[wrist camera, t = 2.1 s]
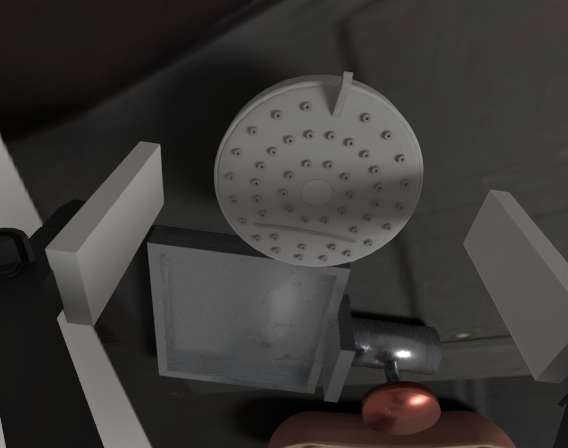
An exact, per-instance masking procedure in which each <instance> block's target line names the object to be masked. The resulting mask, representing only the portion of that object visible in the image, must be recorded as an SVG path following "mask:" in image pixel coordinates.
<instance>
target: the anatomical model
mask: <svg viewBox="0 0 568 448" xmlns="http://www.w3.org/2000/svg"><path fill="white" fill-rule="evenodd" d="M268 448H516V447H515V445H514V444H513V442H512V441H511V439H510V438H509V437H508V436H507V435H506V434H505V433H504V431H503V430H502V429H501V428H500V427H498V426H497V425H496V424H494V423H493V422H492V421H490V420H488V419H486V418H485V417H483V416H481V415H479V414H476V413H472V412H469V411H461V410H455V411H442V412H441V414H440V417H439V419H438V421H437V422H436V423H435V424H434V425H432V426H431V427H429V428H427V429H425V430H423V431H420V432H417V433H412V434H405V435H392V434H385V433H381V432H378V431H376V430H374V429H372V428H370V427H369V426H368V425H367V424H366V423H365V422H364V420H363V415H362V414H350V413H337V412H324V411H311V410H310V411H303V412H300V413H297V414H294V415H293V416H291V417H289V418H288V419H286V420H285V421H284V422H283V423H282V424H281V425H280V426H279V427H278V428H277V429H276V431H275V432H274V434H273V436H272V437H271V440H270V442H269V445H268Z"/></svg>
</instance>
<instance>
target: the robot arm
mask: <svg viewBox="0 0 568 448" xmlns="http://www.w3.org/2000/svg"><path fill="white" fill-rule="evenodd" d="M163 204H164V197H163V181H162V166H161V150H160V144H156V143H149V142H142V141H140V142H139V143H138V145H137V146H136V147H135V148H134V149H133V150H132V151H131V152H130V154H129V155H128V156H127V157H126V158H125V159H124V160H123V161H122V163H121V164H120V165H119V166H118V167H117V168H116V169H115V170H114V172H113V173H112V174H111V175H110V176H109V177H108V178H107V179H106V181H105V182H104V183H103V184H102V185H101V186H100V187H99V189H98V190H97V191H96V192H95V193H94V194H93V195H92V196H91V198H90V199H89V200H88V201H82V200H75V199H74V200H72V201H70V202H68V203H66V204H65V205H63V206H61V207H59V208H58V209H57V210H56V211H55V212H54V213H53V214H52V215H51V216H50V219H47V221H46V222H45V223H44V224H43V225H42V227H40V228H39V229H38V230H37V231H36V232H35V233H34V234H33V235H32V236H31V237H30V238H29V239H28V236H27V235H26V234H25V233H24V232H23V231H21V230H18V229H15V228H0V418H1V423H2V429H3V434H4V439H5V445H6V448H104V446H103V443H102V441H101V438H100V435H99V433H98V430H97V427H96V424H95V422H94V419H93V416H92V413H91V411H90V408H89V405H88V402H87V400H86V397H85V394H84V392H83V389H82V386H81V383H80V381H79V378H78V375H77V372H76V370H75V367H74V364H73V362H72V359H71V356H70V354H69V351H68V348H67V345H66V342H65V340H64V337H63V334H62V332H61V329H60V326H59V323H58V321H57V317H58V316H59V314H60V312H61V311H62V310H63V311H64V314H65V317H66V321H67V322H68V323H75V324H83V325H91V326H94V325H95V323H96V321H97V319H98V318H99V316H100V314H101V312H102V311H103V309H104V307H105V305H106V304H107V302H108V300H109V298H110V297H111V295H112V293H113V291H114V290H115V288H116V286H117V285H118V283H119V281H120V279H121V278H122V276H123V274H124V272H125V271H126V269H127V267H128V265H129V264H130V262H131V260H132V258H133V257H134V255H135V253H136V251H137V250H138V248H139V246H140V244H141V243H142V241H143V239H144V237H145V236H146V234H147V232H148V231H149V229H150V227H151V225H152V224H153V222H154V220H155V218H156V217H157V215H158V213H159V211H160V210H161V208H162V206H163ZM463 245H464V247H465V248H466V250H467V252H468V254H469V256H470V258H471V260H472V262H473V264H474V265H475V267H476V269H477V271H478V273H479V275H480V277H481V279H482V281H483V283H484V284H485V286H486V288H487V290H488V292H489V294H490V296H491V298H492V300H493V302H494V303H495V305H496V307H497V309H498V311H499V313H500V315H501V317H502V319H503V321H504V322H505V324H506V326H507V328H508V330H509V332H510V334H511V336H512V338H513V339H514V341H515V343H516V345H517V347H518V349H519V351H520V353H521V355H522V357H523V358H524V360H525V362H526V364H527V366H528V368H529V370H530V372H531V374H532V376H533V377H534V379H535V381H544V382H552V383H561V382H562V381H563V380H564V379H565V378H566V377H567V375H568V263H567V262H566V261H565V259H564V258H563V257H562V256H561V255H560V253H559V252H558V251H557V250H556V249H555V247H554V246H553V245H552V244H551V243H550V241H549V240H548V239H547V238H546V236H545V235H544V234H543V233H542V232H541V230H540V229H539V228H538V227H537V226H536V224H535V223H534V222H533V221H532V220H531V218H530V217H529V216H528V215H527V214H526V212H525V211H524V210H523V209H522V208H521V206H520V205H519V204H518V203H517V202H516V200H515V199H514V198H513V197H512V195H511V194H510V193H509V192H503V191H496V190H490V191H489V193H488V195H487V197H486V199H485V201H484V203H483V205H482V207H481V209H480V211H479V213H478V215H477V217H476V219H475V221H474V223H473V225H472V227H471V229H470V231H469V233H468V235H467V237H466V239H465V241H464V243H463ZM565 403H567V406H566V409H565V412H564V415H563V418H562V421H561V424H560V427H559V430H558V433H557V436H556V440H555V443H554V446H553V448H568V394H567V395H566V396H565V397H564V398H563V399H562V400H561V401H560V402H559V403H558V405H560V406H561V407H562V406H563V405H564V404H565Z"/></svg>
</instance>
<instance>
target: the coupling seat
mask: <svg viewBox="0 0 568 448" xmlns="http://www.w3.org/2000/svg"><path fill="white" fill-rule="evenodd" d="M147 247H148V258H149V269H150V280H151V291H152V301H153V312H154V323H155V334H156V344H157V355H158V366H159V375H162V376H170V377H179V378H187V379H195V380H204V381H212V382H220V383H229V384H237V385H245V386H253V387H262V388H270V389H278V390H287V391H295V392H303V393H312V394H314V391H315V388H316V385H317V381H318V378H319V374H320V371H321V368H322V364H323V387H324V401H329V402H338V399H339V396H340V394H341V391H342V388H343V385H344V383H345V380H346V377H347V374H348V372H349V369H350V366H351V365H352V366H360V367H368V368H376V369H385V374H386V379H387V383H385V384H382V385H379V386H377V387H375V388H373V389H371V390H370V391H368V392H367V393H366V394H365V395H364V397H363V399H362V402H361V406H362V415H363V420H364V422H365V423H366V424H367V425H368V426H369V427H370V428H372V429H374V430H376V431H378V432H381V433H385V434H392V435H405V434H412V433H417V432H420V431H423V430H425V429H427V428H429V427H431V426H432V425H434V424H435V423H436V422H437V421H438V419H439V417H440V414H441V410H440V406H439V403H438V399H437V396H436V394H435V393H434V392H433V391H432V390H431V389H430V388H428V387H427V386H425V385H422V384H419V383H415V382H408V381H401V376H400V372H399V371H401V372H409V373H417V374H425V375H434V374H435V373H436V372H437V370H438V368H439V366H440V361H441V341H440V337H439V334H438V332H437V330H436V329H435V328H434V327H428V326H421V325H413V324H405V323H397V322H389V321H381V320H373V319H365V318H357V317H351V309H350V301H349V295H343V294H344V290H345V287H346V284H347V280H348V277H349V273H350V270H351V268H350V262H347V263H343V264H339V265H333V266H324V267H309V266H301V265H293V264H289V263H286V262H282V261H279V260H276V259H274V258H271V257H269V256H267V255H265V254H263V253H261V252H260V251H258V250H256V249H255V248H253V247H252V246H250V245H249V244H248V243H247V242H246V241H244V240H243V239H242V238H241V237H240V236H233V235H226V234H218V233H211V232H203V231H196V230H188V229H180V228H173V227H165V226H158V225H157V226H156V228H155V230H154V231H153V233H152V235H151V237H150V238H149V240H148V242H147Z"/></svg>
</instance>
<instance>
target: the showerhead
mask: <svg viewBox="0 0 568 448" xmlns="http://www.w3.org/2000/svg"><path fill="white" fill-rule="evenodd" d="M352 76H353V73H352V72H347V71H344V73H343V76H342V77H341V76H334V75H306V76H300V77H295V78H292V79H288V80H285V81H282V82H280V83H277V84H275V85H273V86H271V87H269V88H267V89H265V90H264V91H262V92H261V93H259V94H258V95H256V96H255V97H254V98H253V99H252V100H251V101H249V102H248V103H247V104H246V105H245V106H244V107H243V108H242V109H241V110H240V112H239V113H238V114H237V115H236V117H235V118H234V120H233V121H232V123H231V125H230V126H229V128H228V130H227V131H226V133H225V135H224V137H223V139H222V141H221V143H220V146H219V149H218V152H217V156H216V160H215V167H214V185H215V191H216V196H217V199H218V203H219V205H220V208H221V210H222V212H223V214H224V216H225V218H226V220H227V221H228V223H229V224H230V226H231V227H232V228H233V229H234V230H235V232H236V233H237V234H238V235H239V236H240V237H241V238H242V239H243V240H244V241H246V242H247V243H248V244H249V245H250V246H252V247H253V248H255V249H256V250H258V251H260V252H261V253H263V254H265V255H267V256H269V257H271V258H274V259H276V260H279V261H282V262H286V263H289V264H293V265H301V266H309V267H324V266H333V265H339V264H343V263H347V262H351V261H354V260H357V259H359V258H361V257H364V256H366V255H368V254H371V253H372V252H374V251H375V250H377V249H379V248H380V247H382V246H383V245H384V244H386V243H387V242H388V241H390V240H391V239H392V238H393V237H394V236H395V235H396V234H397V233H398V232H399V231H400V230H401V229H402V228H403V226H404V225H405V224H406V222H407V221H408V220H409V218H410V216H411V215H412V213H413V211H414V209H415V207H416V205H417V202H418V199H419V197H420V193H421V189H422V183H423V160H422V155H421V150H420V147H419V144H418V141H417V139H416V137H415V135H414V132H413V131H412V129H411V127H410V126H409V124H408V123H407V121H406V120H405V119H404V117H403V116H402V115H401V114H400V112H399V111H398V110H397V109H396V108H395V107H394V105H393V104H392V103H391V102H390V101H389V100H388V99H387V98H385V97H384V96H383V95H382V94H380V93H379V92H377V91H376V90H374V89H373V88H371V87H369V86H367V85H365V84H363V83H361V82H358V81H355V80H352Z"/></svg>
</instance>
